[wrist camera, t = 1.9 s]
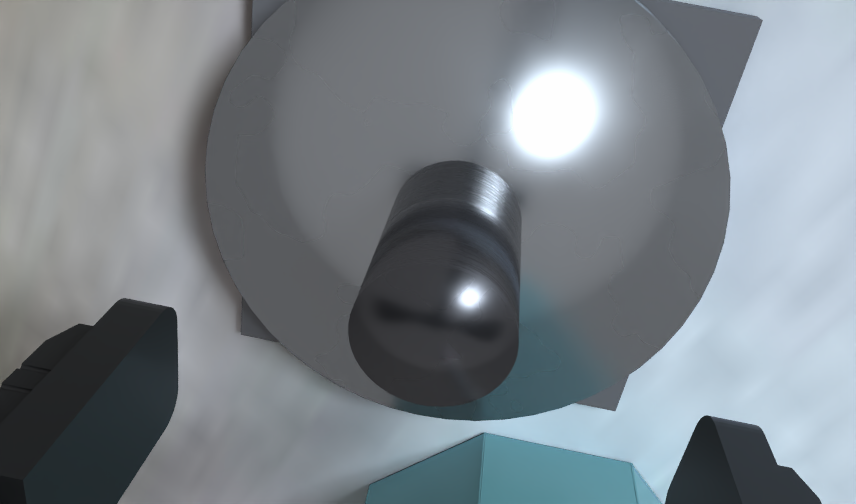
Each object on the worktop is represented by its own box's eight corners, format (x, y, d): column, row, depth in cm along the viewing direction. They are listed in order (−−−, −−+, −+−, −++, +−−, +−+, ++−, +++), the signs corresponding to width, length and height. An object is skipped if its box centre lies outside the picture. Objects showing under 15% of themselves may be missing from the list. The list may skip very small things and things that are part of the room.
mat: (261, -76, 14) (255, -74, 14) (756, 16, 14) (762, 20, 14) (246, 326, 19) (240, 334, 19) (613, 400, 19) (615, 411, 19)
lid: (226, -114, 14) (70, -99, 9) (806, -7, 14) (954, 66, 9) (218, 347, 19) (119, 504, 15) (631, 432, 19) (664, 621, 14)
